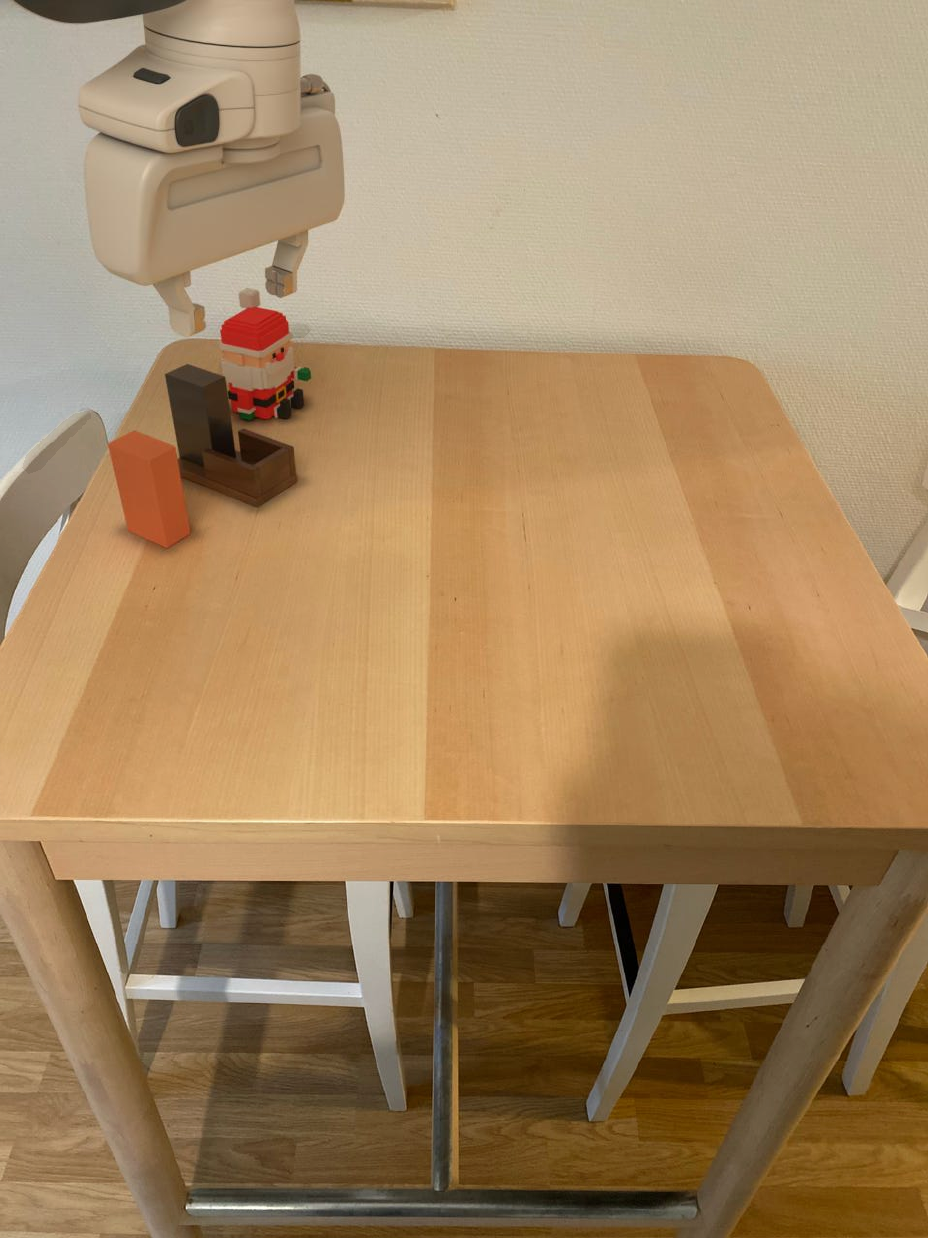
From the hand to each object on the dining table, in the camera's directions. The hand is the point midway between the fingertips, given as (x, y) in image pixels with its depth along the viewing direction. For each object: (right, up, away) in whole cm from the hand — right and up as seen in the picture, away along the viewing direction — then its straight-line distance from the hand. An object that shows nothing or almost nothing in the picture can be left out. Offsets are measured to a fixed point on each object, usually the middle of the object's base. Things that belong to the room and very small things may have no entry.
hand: (237, 311), depth 63 cm
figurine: (-6, +3, +41) cm, 41 cm away
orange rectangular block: (-12, -14, +20) cm, 27 cm away
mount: (-7, -7, +28) cm, 30 cm away
